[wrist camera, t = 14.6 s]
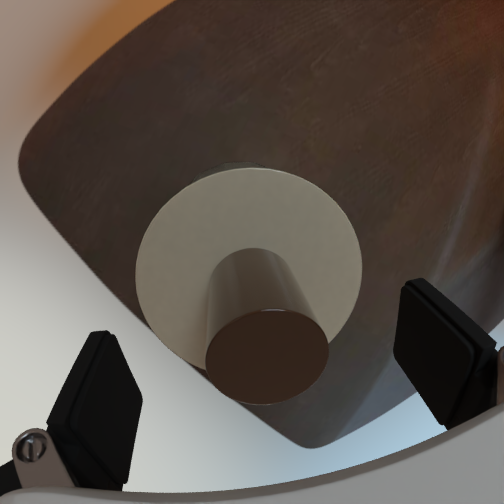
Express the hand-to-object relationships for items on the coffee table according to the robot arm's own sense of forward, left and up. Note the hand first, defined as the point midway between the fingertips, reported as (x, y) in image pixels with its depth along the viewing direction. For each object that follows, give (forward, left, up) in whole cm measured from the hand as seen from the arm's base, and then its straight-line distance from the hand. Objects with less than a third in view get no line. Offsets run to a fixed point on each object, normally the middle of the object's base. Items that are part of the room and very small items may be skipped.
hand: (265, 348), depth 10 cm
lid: (0, 0, -6) cm, 6 cm away
